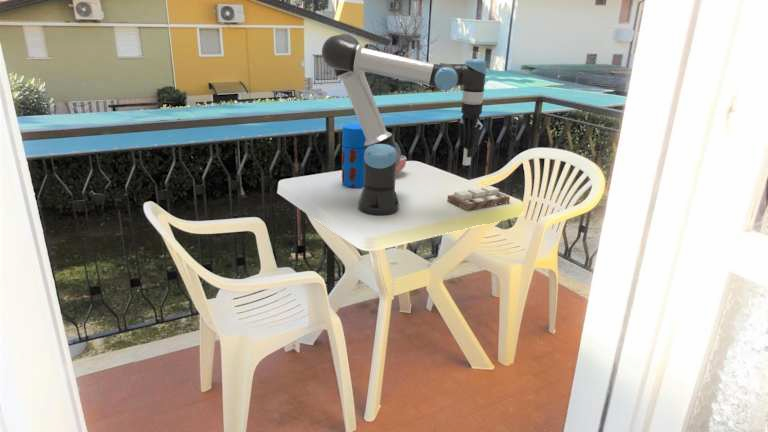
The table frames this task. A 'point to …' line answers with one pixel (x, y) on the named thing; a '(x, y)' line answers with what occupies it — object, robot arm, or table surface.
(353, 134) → the thermos
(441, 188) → the table surface
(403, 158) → the cell model
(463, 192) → the button left
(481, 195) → the button middle
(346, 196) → the table surface
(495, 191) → the button right
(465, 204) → the button board
